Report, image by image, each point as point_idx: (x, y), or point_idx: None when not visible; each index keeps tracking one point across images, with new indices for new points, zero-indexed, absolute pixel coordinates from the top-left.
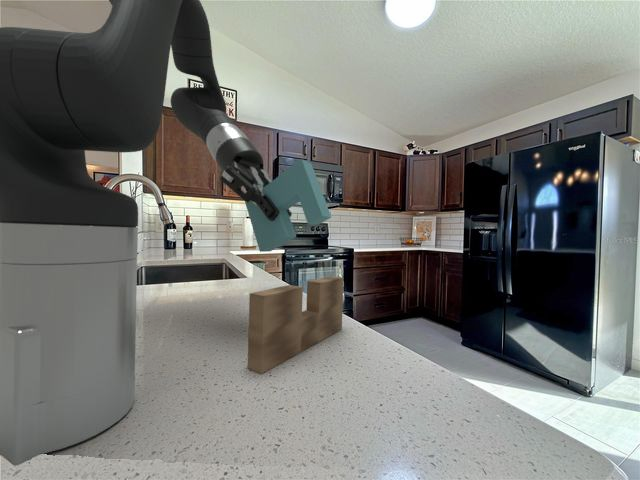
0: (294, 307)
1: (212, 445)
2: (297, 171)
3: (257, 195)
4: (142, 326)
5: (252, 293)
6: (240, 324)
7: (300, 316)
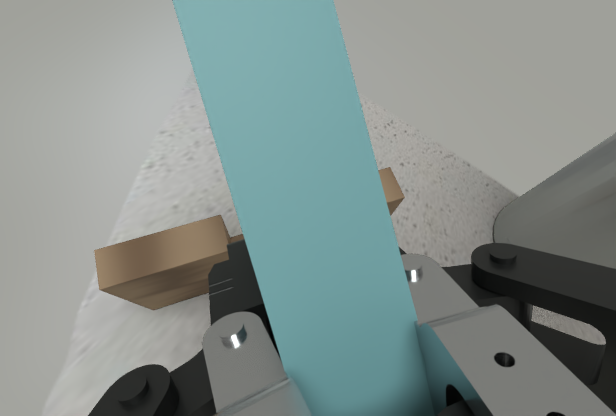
0: None
1: (430, 148)
2: None
3: (449, 269)
4: None
5: (400, 192)
6: None
7: None
